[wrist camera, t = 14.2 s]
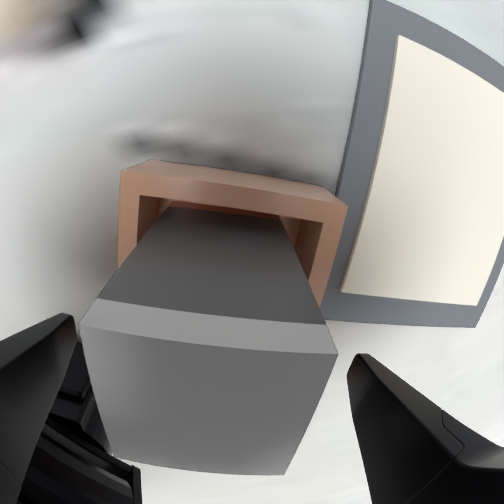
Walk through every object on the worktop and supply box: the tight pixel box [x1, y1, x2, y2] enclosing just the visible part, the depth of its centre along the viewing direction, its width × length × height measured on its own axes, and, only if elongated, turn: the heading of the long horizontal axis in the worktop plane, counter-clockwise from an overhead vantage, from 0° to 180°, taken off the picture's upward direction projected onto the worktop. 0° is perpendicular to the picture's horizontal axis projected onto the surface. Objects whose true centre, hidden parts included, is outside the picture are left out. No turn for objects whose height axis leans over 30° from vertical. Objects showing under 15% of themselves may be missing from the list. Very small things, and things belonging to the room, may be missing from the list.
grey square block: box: [79, 201, 338, 475], centre depth 11 cm, size 5×5×10 cm
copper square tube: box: [117, 160, 348, 308], centre depth 14 cm, size 8×8×4 cm
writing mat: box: [320, 0, 504, 328], centre depth 15 cm, size 18×14×1 cm
